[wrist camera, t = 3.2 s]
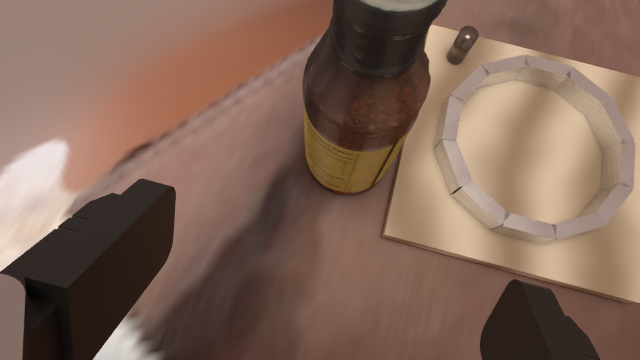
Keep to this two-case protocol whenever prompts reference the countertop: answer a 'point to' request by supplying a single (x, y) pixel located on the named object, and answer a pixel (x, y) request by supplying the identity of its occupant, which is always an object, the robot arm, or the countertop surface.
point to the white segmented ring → (577, 93)
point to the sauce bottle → (365, 89)
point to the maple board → (519, 174)
